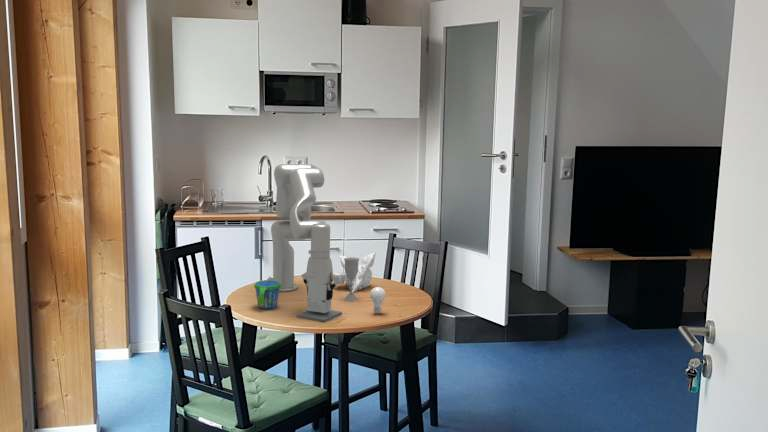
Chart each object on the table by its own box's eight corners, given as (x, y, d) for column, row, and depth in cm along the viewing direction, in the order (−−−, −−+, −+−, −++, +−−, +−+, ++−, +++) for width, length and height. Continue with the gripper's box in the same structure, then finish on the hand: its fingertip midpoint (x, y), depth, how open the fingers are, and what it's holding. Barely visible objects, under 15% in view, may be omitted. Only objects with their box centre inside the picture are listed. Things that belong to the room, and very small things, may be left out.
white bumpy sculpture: (377, 262, 323) (375, 247, 305) (377, 302, 315) (374, 289, 297) (339, 263, 324) (334, 248, 306) (338, 303, 316) (333, 290, 298)
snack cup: (271, 313, 265) (271, 288, 264) (247, 311, 268) (247, 286, 267) (286, 303, 280) (286, 280, 279) (263, 301, 283) (263, 278, 282)
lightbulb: (373, 316, 265) (373, 289, 263) (367, 312, 270) (367, 285, 269) (387, 314, 267) (388, 288, 266) (381, 310, 273) (382, 284, 271)
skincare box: (306, 310, 263) (307, 274, 260) (313, 307, 268) (314, 271, 266) (325, 313, 259) (326, 276, 257) (332, 309, 265) (333, 273, 263)
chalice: (356, 302, 285) (357, 261, 283) (341, 301, 286) (341, 260, 284) (360, 298, 292) (361, 257, 290) (345, 296, 294) (346, 256, 291)
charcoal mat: (296, 317, 261) (296, 314, 261) (315, 309, 272) (315, 307, 272) (324, 322, 255) (324, 319, 255) (342, 314, 267) (342, 311, 266)
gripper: (296, 253, 261) (296, 296, 264) (334, 258, 253) (333, 303, 256) (307, 250, 268) (306, 292, 270) (344, 255, 260) (343, 298, 262)
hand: (319, 297), depth 263 cm, fingers closed on skincare box, 8 cm apart
